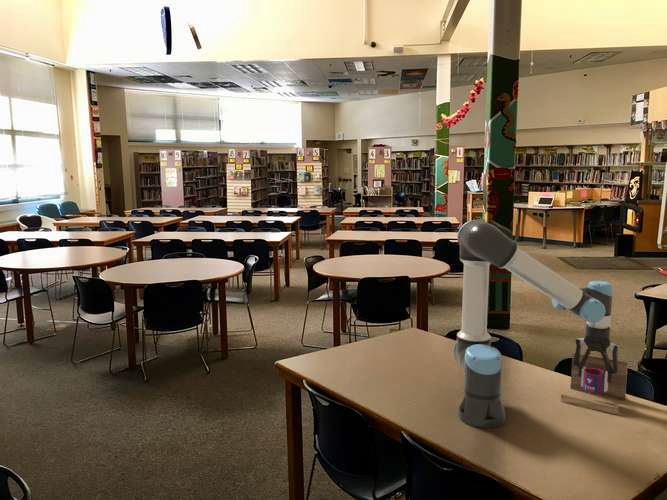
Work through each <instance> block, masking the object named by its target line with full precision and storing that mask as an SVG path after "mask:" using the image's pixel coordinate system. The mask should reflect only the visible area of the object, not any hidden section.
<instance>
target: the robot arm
mask: <svg viewBox="0 0 667 500" xmlns="http://www.w3.org/2000/svg"><path fill="white" fill-rule="evenodd" d="M457 242H458V245H459V260H460V262H461V263H463V274H462V275H463V278H462V279H463V280H462V284H463V285H462V306H461V307H462V308H461V309H462V310H461V329H460V330H459V331H458V332H457V333H456V341H455V344H454V345H453V356H454V359H455V362H456V363H457V364H458V365H459V367H460V369H461V370H462V372H463V375H464V381H463V382H464V386H463V387H464V389H463V396H462V398H461V400H460V403H459V406H458V409H457V410H458V415H457V416H458V417H459V419H460V421H462V422H464V424H465V423H466V424H468V425H470V426H472V427H478V428H487V429H488V428H489V429H490V428H497V427H499V426H502V425H504V424H505V422H506V411H505V407H504V404H503V401H502V397H501V396H502V395H501V391H502V390H501V389H502V370H503V360H502V358H503V357H502V354H501V352H500V351H499V350H498V348H496V347H494V346H491V341H492V336H491V335H490V334H489V332H488V331H487V330H488V328H487V325H488V304H489V283H490V282H489V280H490V265H491V264H492V265H494V266H495V267H497V268H499V269H506V270H507V271H509V272H510V273H512V274H514V275H515V276H516V277H518V278H520V279H521V280H522V281H524V282H525V283H526V284H528V285H530V286H532V287H533V288H535V289H537V290H538V291H539V292H541V293H543V294H544V295H545V296H547V297H548V298H551V303H552V306H553V308H554V309H555V310H561V311H565V310H567V311H569V312H571V313H573V314H574V315H576V316H577V317H579V318H581V319H582V320H583V321H585V322H586V325H585V337H582V338H580V337H577V338H576V339H575V345H576V347H575V351H574V352H575V358H574V363H573V364H574V365H575V366H578V367H579V376H580V377H581V387H583V376H584V369H586V367H584V364H585V362H586V360H587V358H588V356H589V354H590V355H591V352H597V353H600V356H601V357H603V360H604V364H605V367H606V370H607V371H606V373H605V381H604V392H606V391H607V390H608V382H609V383H610V382H611V381H612V374H613V373H615V374H616V373H617V372H618V360H619V356H618V355H619V354H618V351H619V348H620V345H619V344H618V343H617V344H616V343H613V342H611V338H610V335H611V327H610V326H611V318H612V316H611V315H612V306H613V305H612V303H613V297H614V296H613V285H612V283H610V282H608V281H603V280H592V281H591V280H590V281H589V282H588V285H587V286H586V287H578V286H576V285H575V284H573V283H572V282H570V281H569V280H567V279H565V278H564V277H562V276H561V275H559V274H558V273H557V272H555V271H554V270H552V269H550V268H549V267H548V266H546V265H545V264H543V263H541V262H540V261H538V260H537V259H535V258H534V257H532V256H531V255H529V254H528V253H526V252H525V251H524V250H522V249H520V248H519V243H517V242H515V241H514V240H512V239H511V238H510V237H509V236H508V235H506V234H505V233H504V232H502V231H501V230H500V229H499V228H498V227H496V225H493V224H492V223H489V222H486V221H484V220H481V219H479V220H478V219H473V220H469V221H466V222H465V223H464V224H462V226H461V227H460V228H459V230H458V232H457ZM584 343H585V345H586V346H587V349H586V350H585V352H584V354H585V355H584V357H583V359H582V361H581V363H580V362H579V358H580V353H582V346H583V344H584ZM609 347H610V349H611V352H612V353H611V354H612V359H613V369H612V367H611V364H610V361H609V358H610V357H609V355H608V351H607V348H609Z"/></svg>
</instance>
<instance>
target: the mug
mask: <svg viewBox="0 0 667 500" xmlns="http://www.w3.org/2000/svg"><path fill="white" fill-rule="evenodd" d="M604 381H605V372H604V371H602V370H601V369H595V368H587V369H584V376H583V389H584V390H585V391H587V392H586V393H589V394H593V395H594V394H595V395H598V394H601V393H603V392H604ZM585 391H584V392H585Z"/></svg>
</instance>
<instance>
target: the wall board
mask: <svg viewBox="0 0 667 500" xmlns="http://www.w3.org/2000/svg"><path fill="white" fill-rule="evenodd" d="M575 352H576V351H573V352H572V355H571V356H572V357H571V372H570V377H571V378H570V389H572V390H577V391H581V392H586V393H588V392H587V391H585V390H584V389H583V387H581V377H580V376H579V367H578V366H575V365H574V364H573V363H574V358H575ZM584 355H585V352H584V353H583V352H580V358H579V362H580V363H581V361H582V359H583V357H584ZM608 358H609V361H610V364H611V367H612V369H613V358H611V357H608ZM628 363H629V361H626V360H621V359H618V372H617V373H616V374H615V373H613V374H612V381H611V382H610V383H609V382H608V390H607V391H606V392H603V393H601V394H597V395H599V396H604V397H607V398H613V399H617V400H622V401H625V400H626V398H627V395H626V394H627V393H626V392H627V381H628V380H627V377H628V368H629V367H628V365H629V364H628ZM584 367H586V369H587V368H595V369H601V370H602V371H604V372H605V373H606V371H607V370H606V367H605V364H604V360H603V357H602V355H600V356H599V355H594V354H591V353H590V354H589V356H588V358H587V360H586V362H585V364H584Z"/></svg>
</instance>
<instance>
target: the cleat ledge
mask: <svg viewBox="0 0 667 500" xmlns="http://www.w3.org/2000/svg"><path fill="white" fill-rule="evenodd" d="M560 402H562V403H566V404H571V405H575V406H578V407H579V406H580V407H583V408H587V409H592V410H595V411H600V412H605V413H607V412H608V414H612V415H616V414H617V416H618V415H619V406H616V405H612V404H609V403H608V404H607V403H604V402H600V401H595V400H591V399H587V398H583V397H577V396H574V395H568V394H564V393H561V395H560Z"/></svg>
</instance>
